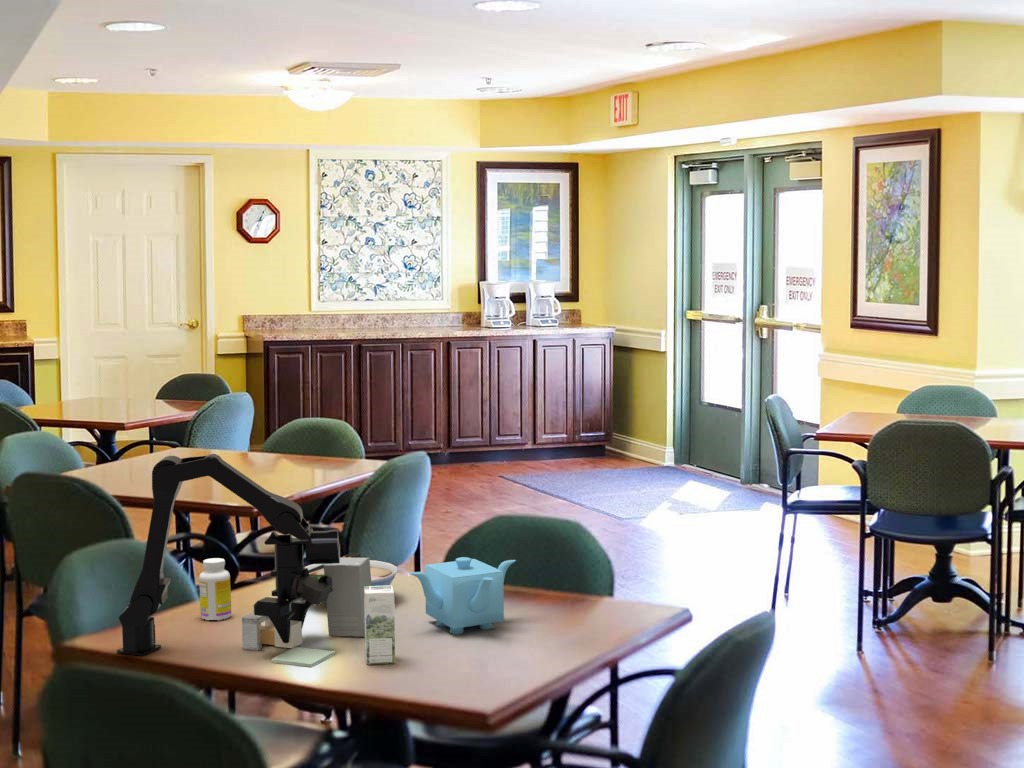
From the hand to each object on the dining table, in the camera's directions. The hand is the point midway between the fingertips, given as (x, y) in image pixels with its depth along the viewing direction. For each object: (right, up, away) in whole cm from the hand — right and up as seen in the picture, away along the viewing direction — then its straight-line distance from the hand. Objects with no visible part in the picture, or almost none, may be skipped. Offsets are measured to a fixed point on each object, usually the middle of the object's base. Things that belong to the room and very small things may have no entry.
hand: (291, 640), depth 281 cm
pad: (+4, -2, -8) cm, 9 cm away
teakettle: (+35, 0, +13) cm, 38 cm away
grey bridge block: (-6, -1, +3) cm, 7 cm away
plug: (-4, -1, +2) cm, 4 cm away
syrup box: (+19, -2, -10) cm, 22 cm away
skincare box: (+11, -1, +9) cm, 14 cm away
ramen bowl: (+7, +2, +35) cm, 36 cm away
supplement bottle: (-20, 0, +23) cm, 31 cm away
